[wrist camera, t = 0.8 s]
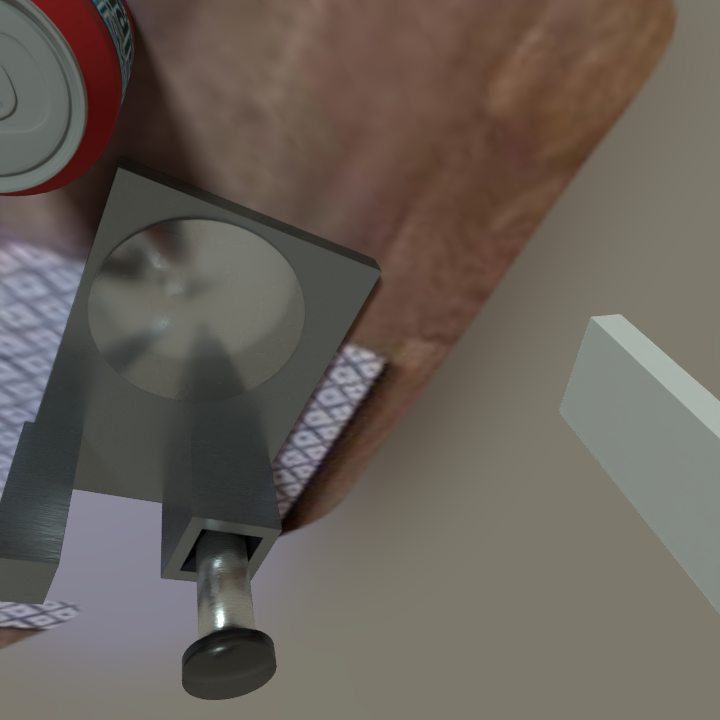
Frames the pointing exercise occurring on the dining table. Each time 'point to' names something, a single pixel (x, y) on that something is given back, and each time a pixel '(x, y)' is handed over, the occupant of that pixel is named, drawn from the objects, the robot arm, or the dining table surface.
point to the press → (178, 374)
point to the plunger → (225, 624)
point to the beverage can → (59, 88)
